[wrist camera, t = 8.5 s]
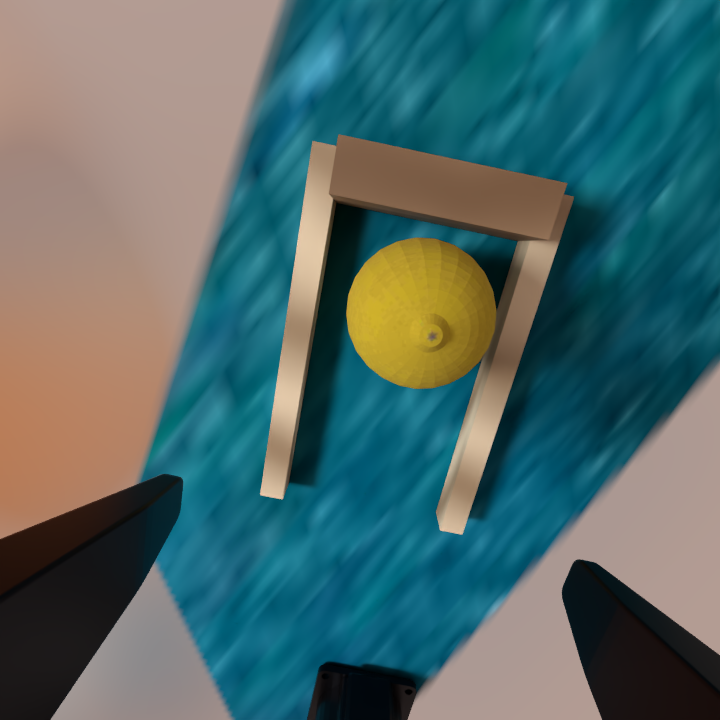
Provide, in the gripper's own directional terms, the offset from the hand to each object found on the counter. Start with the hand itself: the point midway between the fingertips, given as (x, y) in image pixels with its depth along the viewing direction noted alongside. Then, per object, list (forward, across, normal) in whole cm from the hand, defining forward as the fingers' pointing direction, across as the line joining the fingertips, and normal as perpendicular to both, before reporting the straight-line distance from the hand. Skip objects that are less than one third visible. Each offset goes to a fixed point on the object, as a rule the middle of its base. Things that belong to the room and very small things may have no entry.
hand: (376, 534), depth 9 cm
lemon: (+12, -1, -4) cm, 13 cm away
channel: (+12, -1, -1) cm, 12 cm away
